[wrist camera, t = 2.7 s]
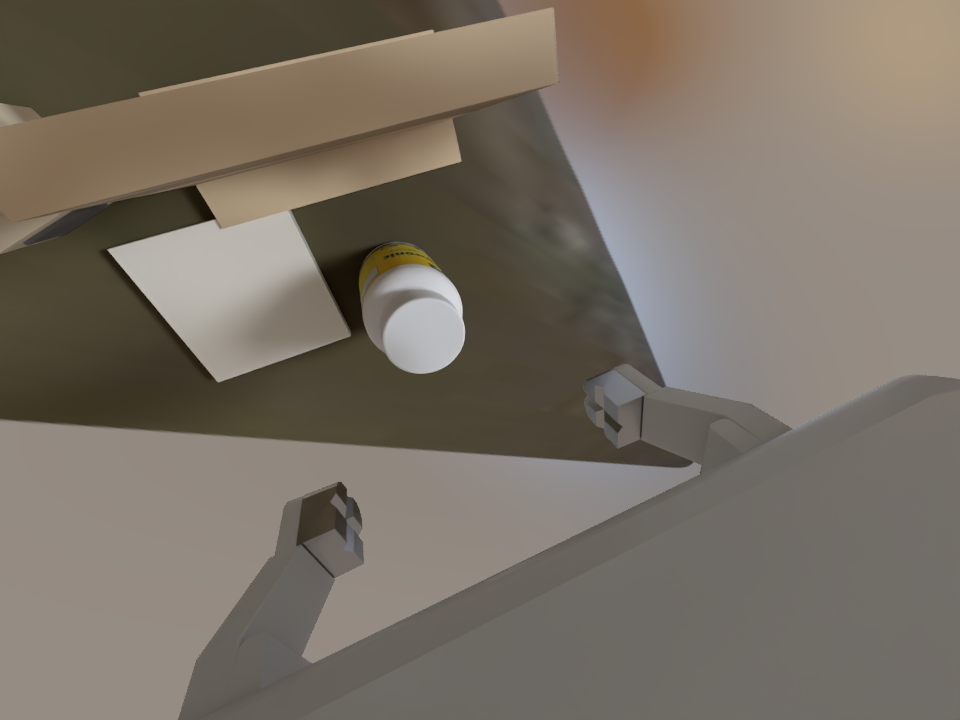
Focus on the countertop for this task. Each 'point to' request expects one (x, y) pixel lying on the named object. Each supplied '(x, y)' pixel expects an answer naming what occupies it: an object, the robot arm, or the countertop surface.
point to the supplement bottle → (410, 308)
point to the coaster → (237, 291)
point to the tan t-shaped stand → (280, 125)
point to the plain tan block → (32, 231)
